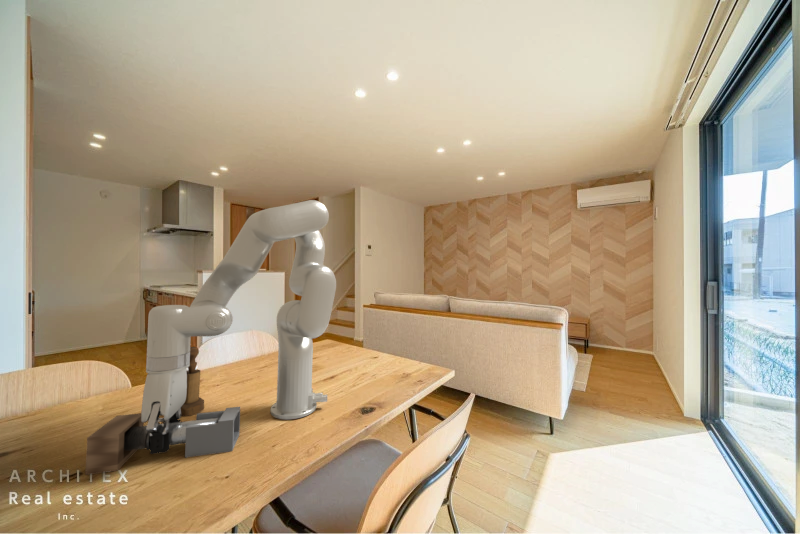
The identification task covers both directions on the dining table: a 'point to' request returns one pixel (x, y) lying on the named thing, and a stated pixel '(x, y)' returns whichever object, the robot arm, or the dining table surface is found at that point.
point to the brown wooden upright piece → (192, 387)
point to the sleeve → (213, 433)
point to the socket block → (110, 444)
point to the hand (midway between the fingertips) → (165, 444)
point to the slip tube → (141, 436)
